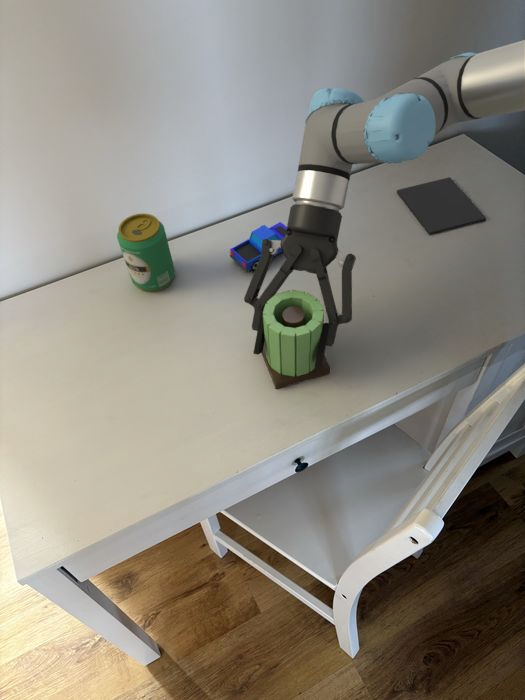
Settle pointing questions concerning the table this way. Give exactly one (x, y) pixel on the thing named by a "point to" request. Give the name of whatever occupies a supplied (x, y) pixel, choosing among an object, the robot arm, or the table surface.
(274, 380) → the stacking stand
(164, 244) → the beverage can
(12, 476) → the table surface
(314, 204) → the robot arm
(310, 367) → the green tube
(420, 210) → the rubber mat
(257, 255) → the toy car
